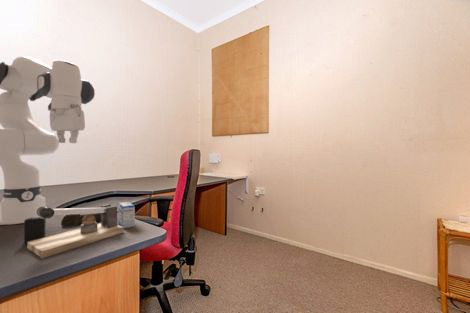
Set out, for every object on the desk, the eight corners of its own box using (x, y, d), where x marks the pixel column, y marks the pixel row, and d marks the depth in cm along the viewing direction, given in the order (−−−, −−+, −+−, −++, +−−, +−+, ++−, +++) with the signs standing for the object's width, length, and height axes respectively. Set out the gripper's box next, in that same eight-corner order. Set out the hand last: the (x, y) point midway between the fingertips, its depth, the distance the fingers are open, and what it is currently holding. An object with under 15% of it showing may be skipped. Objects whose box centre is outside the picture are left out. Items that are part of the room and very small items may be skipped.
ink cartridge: (45, 239, 77) (45, 216, 77) (43, 241, 75) (44, 217, 75) (26, 241, 75) (26, 217, 75) (24, 244, 73) (24, 219, 73)
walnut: (80, 226, 79) (79, 214, 79) (92, 223, 82) (92, 212, 82) (85, 228, 76) (85, 216, 76) (98, 225, 80) (97, 214, 80)
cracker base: (27, 248, 70) (26, 217, 70) (106, 226, 90) (105, 202, 90) (42, 258, 64) (41, 224, 63) (123, 232, 84) (123, 206, 83)
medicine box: (118, 223, 94) (117, 202, 94) (129, 221, 97) (129, 201, 96) (123, 228, 88) (122, 206, 87) (135, 226, 91) (134, 204, 90)
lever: (35, 216, 69) (37, 206, 69) (107, 212, 87) (109, 204, 87) (41, 218, 66) (43, 208, 67) (114, 214, 84) (115, 206, 85)
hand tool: (114, 217, 102) (114, 207, 102) (115, 220, 99) (115, 209, 99) (62, 225, 92) (62, 214, 92) (61, 228, 89) (60, 216, 89)
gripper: (90, 104, 81) (90, 143, 81) (65, 108, 92) (65, 143, 92) (69, 101, 75) (69, 143, 76) (45, 106, 86) (46, 142, 87)
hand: (67, 143), depth 84 cm, fingers open, 8 cm apart
